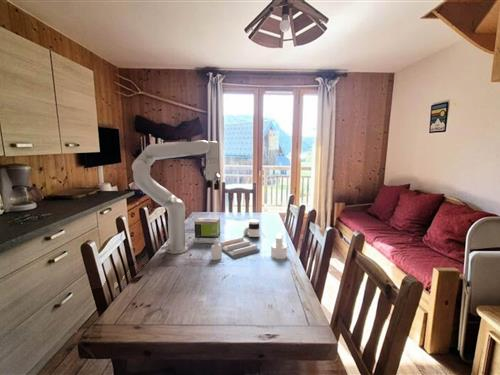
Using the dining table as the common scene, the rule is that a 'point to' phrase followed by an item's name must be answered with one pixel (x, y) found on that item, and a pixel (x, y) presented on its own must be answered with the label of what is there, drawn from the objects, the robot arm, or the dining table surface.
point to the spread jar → (253, 229)
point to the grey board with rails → (238, 247)
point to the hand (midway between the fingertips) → (212, 188)
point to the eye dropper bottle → (216, 250)
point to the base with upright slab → (279, 248)
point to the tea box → (207, 230)
